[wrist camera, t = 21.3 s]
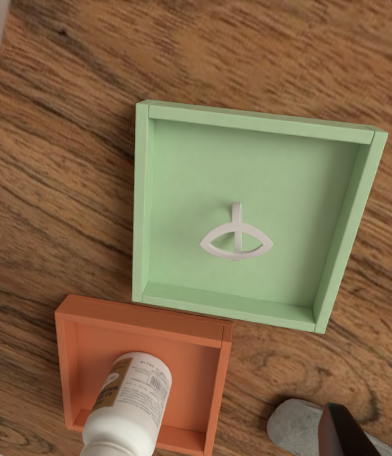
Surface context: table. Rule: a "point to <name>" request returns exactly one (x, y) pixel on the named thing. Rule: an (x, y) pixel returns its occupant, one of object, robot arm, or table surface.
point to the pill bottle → (128, 408)
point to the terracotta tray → (154, 345)
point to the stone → (303, 429)
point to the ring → (236, 237)
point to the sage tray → (247, 209)
